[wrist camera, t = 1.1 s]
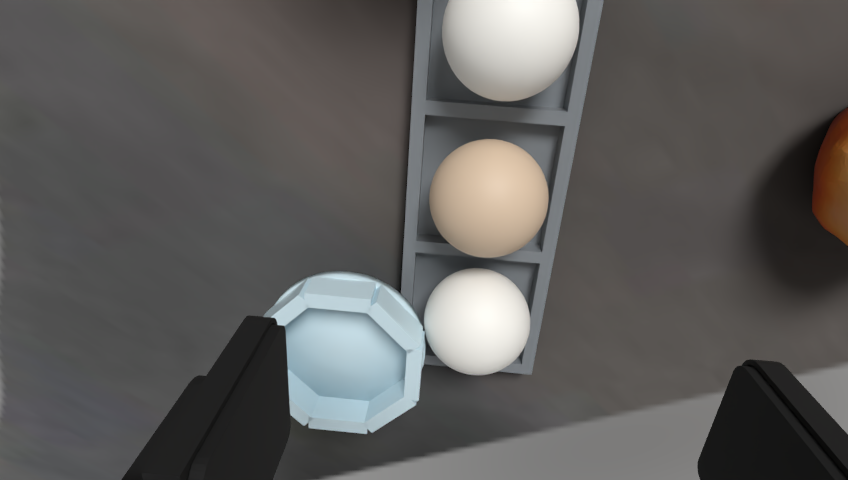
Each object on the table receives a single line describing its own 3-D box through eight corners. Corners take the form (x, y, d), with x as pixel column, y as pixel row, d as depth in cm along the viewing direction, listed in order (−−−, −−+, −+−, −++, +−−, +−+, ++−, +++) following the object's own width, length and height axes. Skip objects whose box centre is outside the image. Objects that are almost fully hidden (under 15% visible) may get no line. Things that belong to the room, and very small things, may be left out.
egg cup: (434, 250, 26) (428, 302, 22) (424, 372, 30) (417, 440, 25) (284, 237, 27) (246, 285, 22) (290, 359, 30) (258, 424, 25)
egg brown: (548, 132, 23) (569, 163, 19) (531, 234, 25) (546, 284, 21) (436, 122, 23) (430, 151, 19) (428, 225, 25) (421, 273, 21)
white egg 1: (576, -35, 20) (609, -47, 16) (554, 95, 22) (577, 118, 18) (449, -44, 20) (446, -58, 16) (439, 86, 23) (433, 106, 18)
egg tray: (607, -64, 20) (616, -68, 19) (528, 358, 29) (531, 374, 27) (424, -76, 21) (422, -82, 19) (399, 345, 29) (396, 361, 28)
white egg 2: (537, 265, 26) (545, 306, 21) (515, 352, 27) (518, 408, 23) (440, 245, 26) (426, 280, 22) (423, 331, 28) (407, 382, 23)
